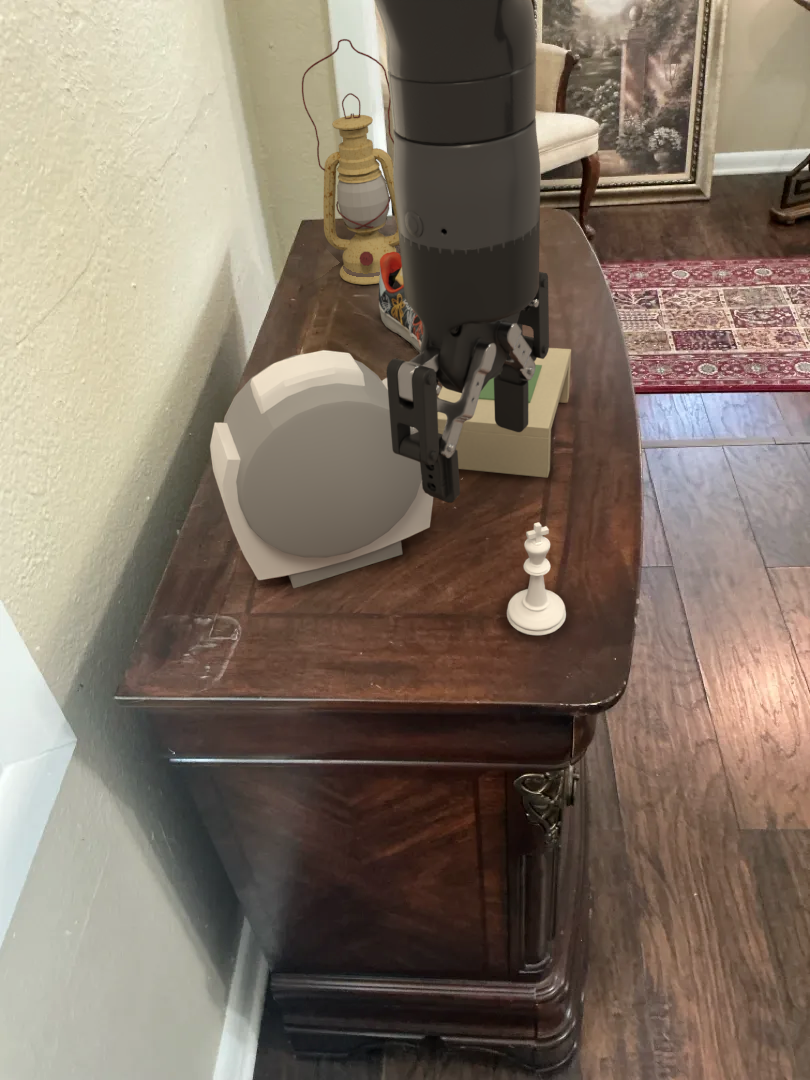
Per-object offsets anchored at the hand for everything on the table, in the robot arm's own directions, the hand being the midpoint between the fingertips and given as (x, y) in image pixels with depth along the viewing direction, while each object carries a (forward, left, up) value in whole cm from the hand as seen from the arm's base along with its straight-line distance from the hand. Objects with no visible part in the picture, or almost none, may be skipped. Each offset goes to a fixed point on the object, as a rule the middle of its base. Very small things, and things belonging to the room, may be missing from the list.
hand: (478, 460), depth 56 cm
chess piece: (-3, -6, -20) cm, 21 cm away
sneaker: (+17, -49, -20) cm, 56 cm away
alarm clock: (+16, -10, -20) cm, 28 cm away
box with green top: (+5, -32, -20) cm, 38 cm away
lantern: (+32, -68, -20) cm, 78 cm away
